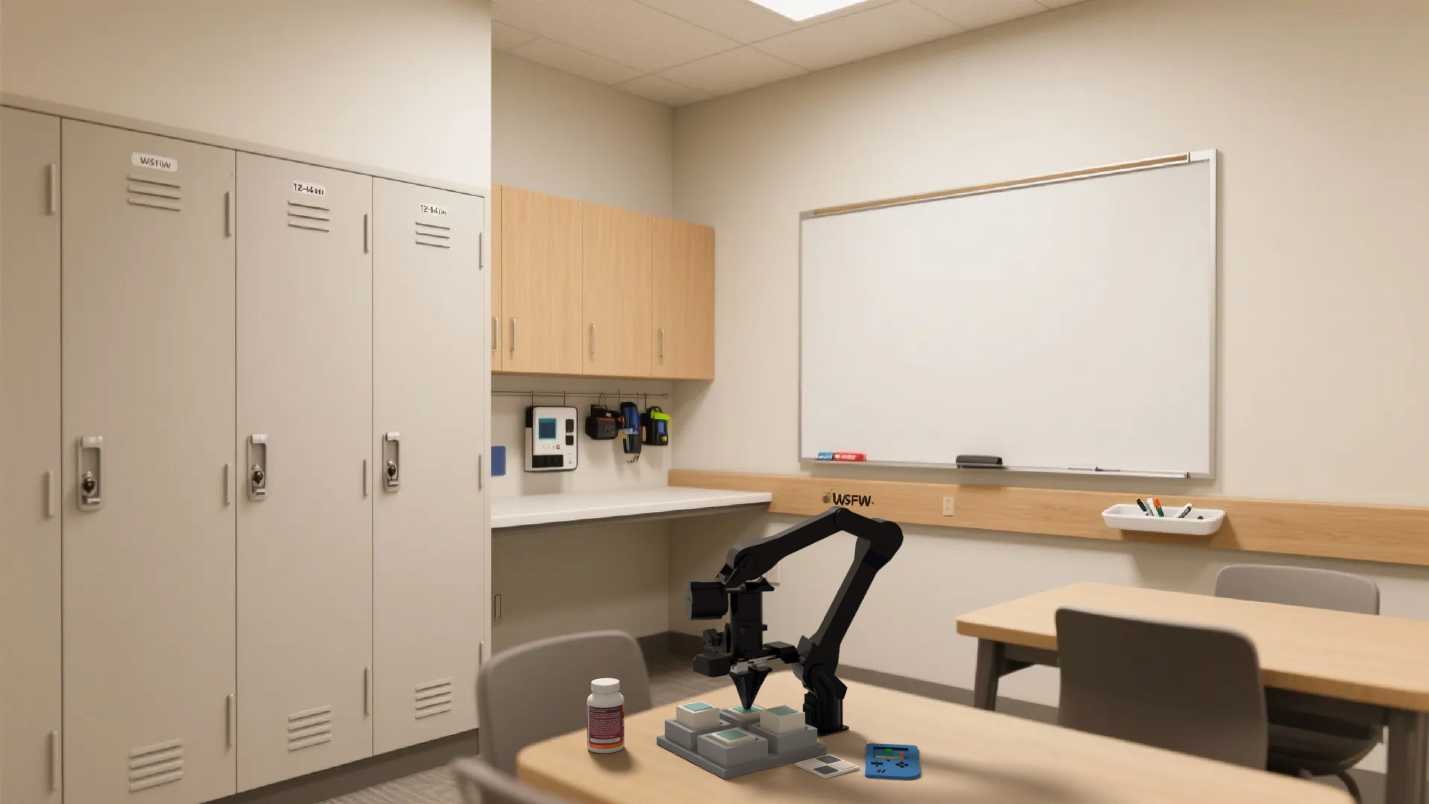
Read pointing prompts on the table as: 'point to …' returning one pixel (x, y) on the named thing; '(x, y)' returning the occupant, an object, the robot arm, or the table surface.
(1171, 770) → the table surface
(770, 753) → the console
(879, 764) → the handheld gaming device
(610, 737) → the pill bottle
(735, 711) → the button
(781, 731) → the button
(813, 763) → the card
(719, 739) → the button
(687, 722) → the button
